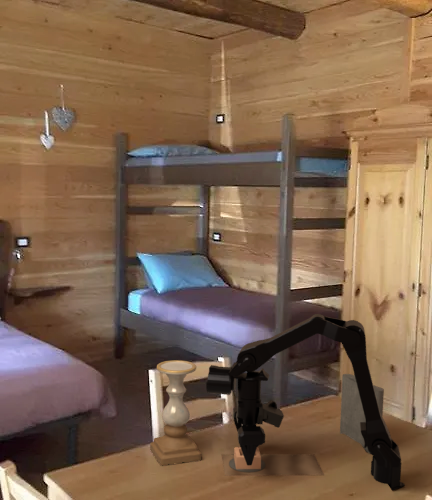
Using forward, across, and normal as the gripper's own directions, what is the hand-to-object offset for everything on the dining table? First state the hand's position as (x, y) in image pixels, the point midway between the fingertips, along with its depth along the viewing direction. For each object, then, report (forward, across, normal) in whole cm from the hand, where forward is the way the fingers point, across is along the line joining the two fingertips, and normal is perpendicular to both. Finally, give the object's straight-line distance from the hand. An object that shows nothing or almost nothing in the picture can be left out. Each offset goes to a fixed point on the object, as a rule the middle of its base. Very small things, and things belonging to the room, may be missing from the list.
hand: (247, 457), depth 164 cm
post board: (+3, 0, -6) cm, 7 cm away
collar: (+2, 0, 0) cm, 2 cm away
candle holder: (+4, +9, +18) cm, 20 cm away
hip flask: (+4, +16, -32) cm, 36 cm away
